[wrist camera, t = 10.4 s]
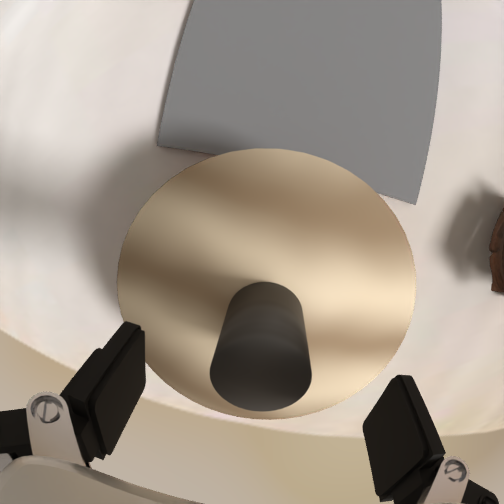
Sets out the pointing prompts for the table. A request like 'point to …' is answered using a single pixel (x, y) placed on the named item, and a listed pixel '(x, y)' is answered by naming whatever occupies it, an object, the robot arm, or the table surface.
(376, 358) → the lid
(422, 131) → the mat
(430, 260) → the table surface
